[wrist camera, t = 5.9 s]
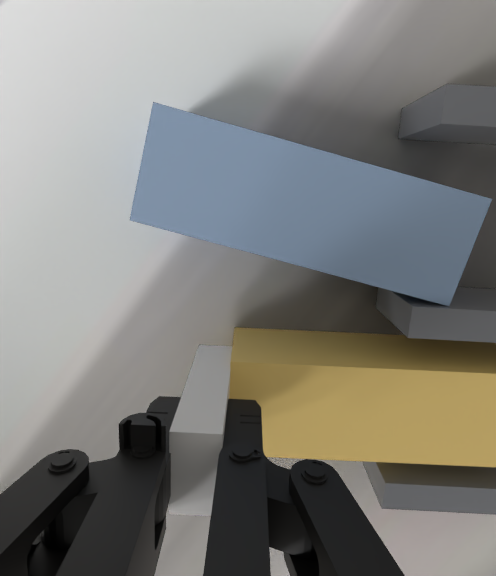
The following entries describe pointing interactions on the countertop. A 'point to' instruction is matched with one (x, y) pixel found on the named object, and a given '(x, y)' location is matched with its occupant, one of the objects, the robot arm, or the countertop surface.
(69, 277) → the countertop surface
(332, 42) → the countertop surface
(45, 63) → the countertop surface
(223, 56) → the countertop surface
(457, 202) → the bar blue
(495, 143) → the comb rack
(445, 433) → the bar ochre
